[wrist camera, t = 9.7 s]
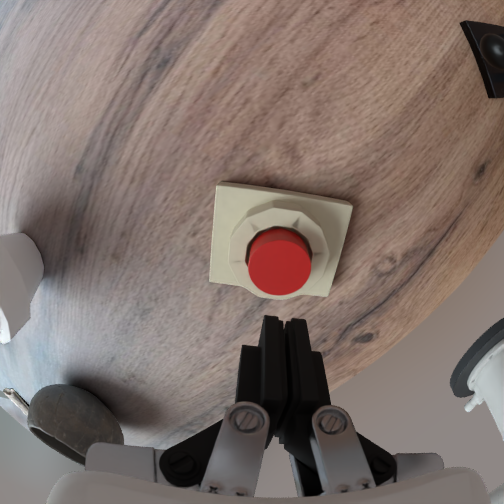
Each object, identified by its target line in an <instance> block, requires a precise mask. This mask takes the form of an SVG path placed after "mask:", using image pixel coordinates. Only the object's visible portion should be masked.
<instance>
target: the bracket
mask: <svg viewBox="0 0 504 504" xmlns="http://www.w3.org/2000/svg"><path fill="white" fill-rule="evenodd" d="M460 25H461V27H462V29H463V31H464V33H465V35H466V38H467V40H468V42H469V44H470V47H471V49H472V51H473V54H474V56H475V59H476V61H477V64H478V67H479V70H480V72H481V75H482V78H483V81H484V84H485V88H486V91H487V94H488V98H503V97H504V70H498V69H496V68H494V67H492V66H491V65H490V64H489V63H488V62H487V61H486V60H485V59H484V57H483V55H482V53H481V50H480V40H481V38H482V37H483V36H484V35H486V34H490V33H491V34H496V35H498V36H500V37H502V38H503V39H504V27H502V26H498V25H493V24H487V23H481V22H474V21H467V20H466V21H463V22H461V23H460Z"/></svg>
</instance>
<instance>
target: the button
mask: <svg viewBox="0 0 504 504" xmlns="http://www.w3.org/2000/svg"><path fill="white" fill-rule="evenodd" d="M248 273H249V276H250V279H251V281H252V282H253V284H254V285H255V286H256V287H257V288H258V289H260V290H261V291H263V292H265V293H267V294H270V295H277V296H281V295H288V294H291V293H293V292H295V291H297V290H299V289H300V288H301V287H302V286H303V285H304V284H305V283H306V282H307V280H308V278H309V276H310V273H311V261H310V258H309V254H308V251H307V248H306V245H305V243H304V241H303V240H302V238H301V237H300V236H299V235H297V234H296V233H294V232H292V231H290V230H287V229H272V230H268V231H266V232H264V233H262V234H261V235H260V236H258V237H257V238H256V240H255V241H254V243H253V244H252V247H251V250H250V257H249V263H248Z"/></svg>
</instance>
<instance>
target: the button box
mask: <svg viewBox="0 0 504 504" xmlns="http://www.w3.org/2000/svg"><path fill="white" fill-rule="evenodd" d="M352 209H353V206H352V205H351V204H350V203H349V202H348V201H345V200H340V199H334V198H329V197H324V196H318V195H312V194H307V193H301V192H294V191H288V190H282V189H275V188H268V187H261V186H254V185H246V184H238V183H230V182H222V181H221V182H219V183H218V184H217V186H216V196H215V208H214V220H213V233H212V246H211V261H210V278H209V281H210V282H215V283H222V284H229V285H236V286H243V287H244V288H246V289H247V290H249V291H250V292H252V293H253V294H255V295H256V296H258V297H262V298H270V299H278V300H286V299H289V298H292V297H295V296H298V295H301V294H305V295H314V296H323V297H328V295H329V292H330V289H331V286H332V283H333V279H334V276H335V273H336V269H337V266H338V262H339V259H340V255H341V252H342V248H343V244H344V241H345V237H346V233H347V229H348V225H349V221H350V217H351V213H352ZM272 229H287V230H290V231H292V232H294V233H296V234H297V235H299V236H300V237H301V238H302V240H303V241H304V243H305V245H306V248H307V251H308V254H309V258H310V261H311V273H310V276H309V278H308V280H307V282H306V283H305V284H304V285H303V286H302V287H301V288H300V289H299V290H297V291H295V292H293V293H291V294H288V295H281V296H277V295H270V294H267V293H265V292H263V291H261V290H260V289H258V288H257V287H256V286H255V285H254V284H253V282H252V281H251V279H250V276H249V273H248V263H249V257H250V250H251V247H252V244H253V243H254V241H255V240H256V238H257V237H258V236H260V235H261V234H262V233H264V232H266V231H268V230H272Z"/></svg>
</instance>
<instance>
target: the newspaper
mask: <svg viewBox="0 0 504 504" xmlns="http://www.w3.org/2000/svg"><path fill="white" fill-rule="evenodd" d="M3 392H4V393H5V394H6V395H7V396H8V397H9V398H10V399H11V400H12V402H13V403H14V404H15V405H16V406H17V407H18V408H19V409H21V410H22V411H23V412H24V413H25V414H26V415H27V416H28V410H29V407H28V406H27V405H26V404H25V403H24V402H23V400H22V399H21V398H20V397H19V396H18V394H17V393H16V392H15V391H14V390H13V389H11V390H9V389H6V388H5V389H4V390H3Z"/></svg>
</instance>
